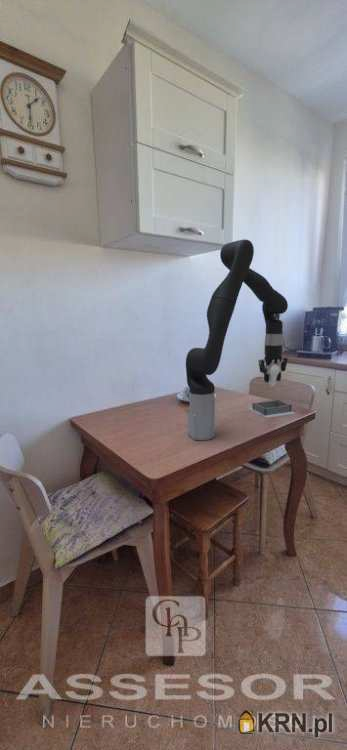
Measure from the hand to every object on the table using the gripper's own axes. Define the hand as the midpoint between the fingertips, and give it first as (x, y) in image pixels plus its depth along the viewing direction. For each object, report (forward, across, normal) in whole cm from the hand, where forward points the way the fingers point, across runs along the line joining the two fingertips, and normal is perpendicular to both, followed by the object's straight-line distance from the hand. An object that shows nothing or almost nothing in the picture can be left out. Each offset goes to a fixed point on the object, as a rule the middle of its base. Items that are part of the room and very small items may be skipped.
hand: (272, 381), depth 143 cm
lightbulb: (+3, 0, 0) cm, 3 cm away
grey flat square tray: (+14, 0, 0) cm, 14 cm away
